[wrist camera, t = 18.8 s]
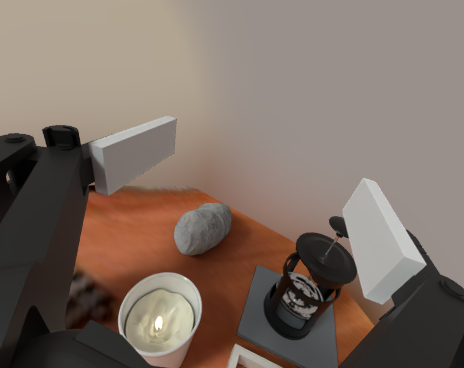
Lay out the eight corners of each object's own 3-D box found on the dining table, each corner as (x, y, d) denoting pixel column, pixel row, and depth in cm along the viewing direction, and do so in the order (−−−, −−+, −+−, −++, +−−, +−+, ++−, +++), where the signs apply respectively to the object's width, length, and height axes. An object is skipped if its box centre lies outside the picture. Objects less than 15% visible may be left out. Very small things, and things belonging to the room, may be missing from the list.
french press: (271, 346, 35) (336, 256, 23) (253, 291, 42) (295, 202, 30) (328, 333, 39) (410, 251, 26) (303, 285, 46) (358, 203, 34)
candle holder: (142, 308, 37) (141, 265, 30) (198, 319, 37) (208, 279, 31) (109, 383, 28) (98, 345, 22) (181, 397, 29) (191, 364, 22)
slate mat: (336, 385, 33) (339, 383, 33) (236, 335, 36) (237, 332, 36) (330, 299, 46) (332, 297, 45) (256, 267, 49) (257, 264, 48)
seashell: (219, 211, 62) (225, 183, 57) (245, 249, 53) (256, 219, 47) (163, 223, 54) (165, 191, 49) (183, 270, 44) (187, 237, 39)
